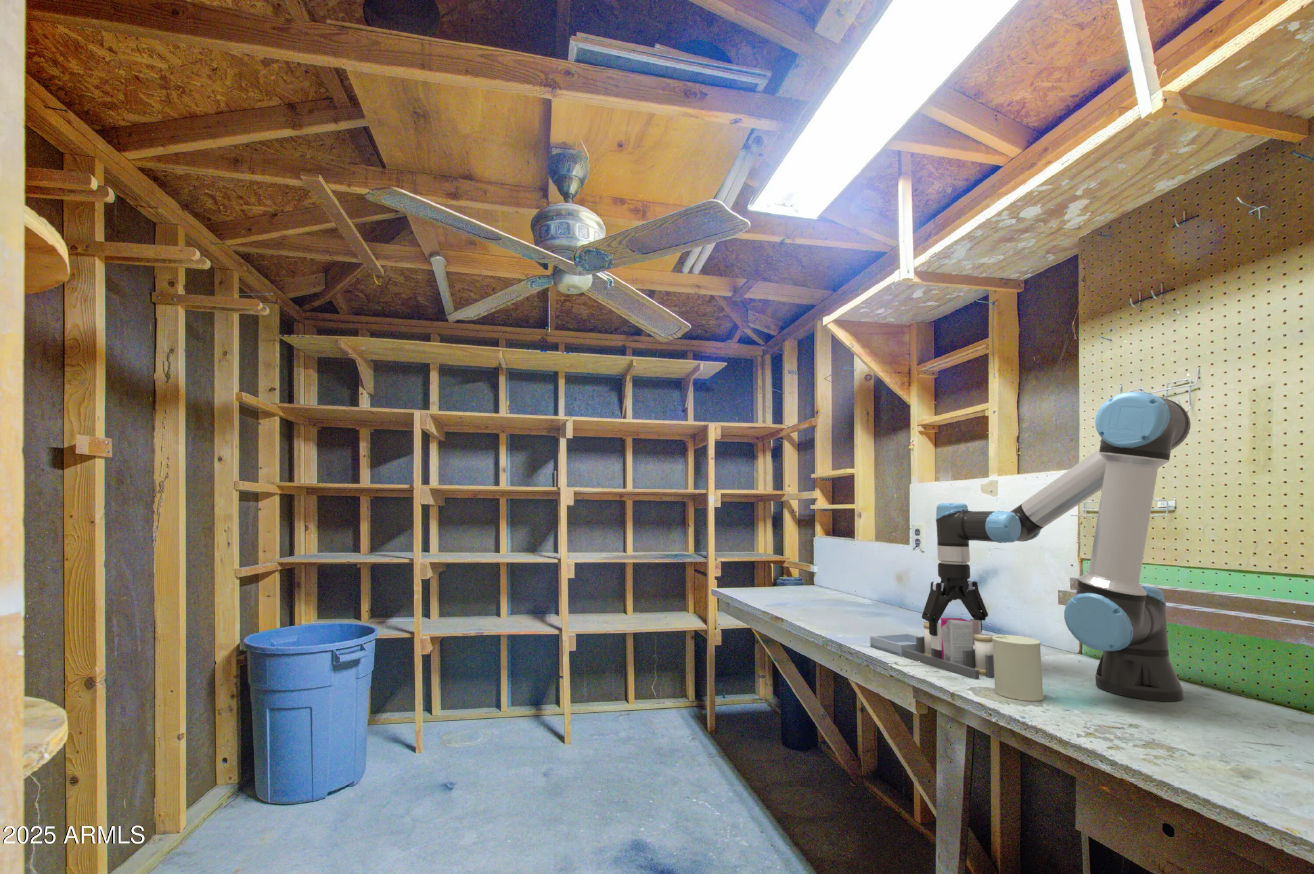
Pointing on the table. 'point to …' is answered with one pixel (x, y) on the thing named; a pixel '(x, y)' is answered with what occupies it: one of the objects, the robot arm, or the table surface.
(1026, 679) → the can
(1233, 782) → the table surface
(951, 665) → the holder
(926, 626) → the cylinder
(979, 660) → the cylinder
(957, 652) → the supplement box
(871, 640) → the tray
